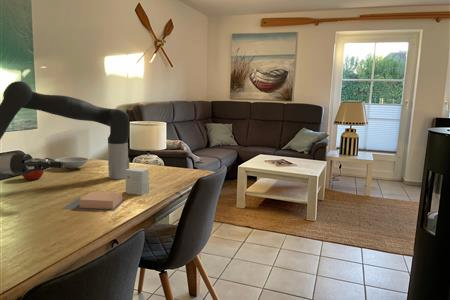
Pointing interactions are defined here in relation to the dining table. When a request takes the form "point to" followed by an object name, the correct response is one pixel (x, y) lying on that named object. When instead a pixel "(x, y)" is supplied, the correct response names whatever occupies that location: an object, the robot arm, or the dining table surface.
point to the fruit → (33, 175)
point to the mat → (76, 206)
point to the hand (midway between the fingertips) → (62, 164)
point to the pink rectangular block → (100, 200)
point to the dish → (73, 161)
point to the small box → (137, 181)
